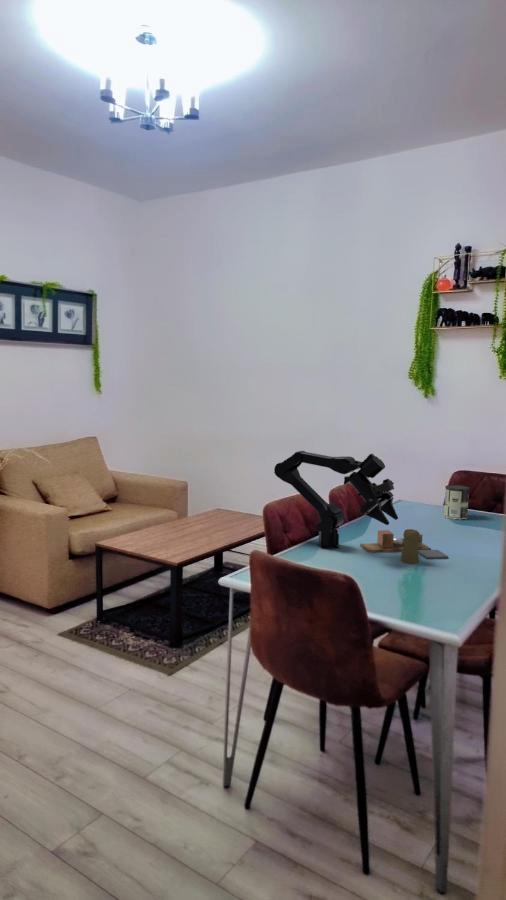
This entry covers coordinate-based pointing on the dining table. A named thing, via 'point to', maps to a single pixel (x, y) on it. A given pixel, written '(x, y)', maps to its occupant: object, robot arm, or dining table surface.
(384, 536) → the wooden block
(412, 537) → the cork
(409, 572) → the dining table surface
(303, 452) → the robot arm
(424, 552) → the seat pad
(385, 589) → the dining table surface
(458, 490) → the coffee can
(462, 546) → the dining table surface
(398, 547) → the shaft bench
